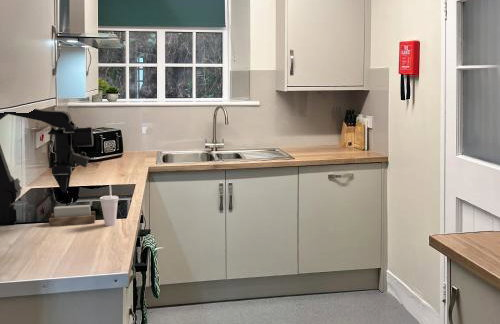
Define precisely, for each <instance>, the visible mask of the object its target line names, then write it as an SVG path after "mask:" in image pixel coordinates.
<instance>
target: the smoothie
mask: <svg viewBox="0 0 500 324" xmlns="http://www.w3.org/2000/svg"><path fill="white" fill-rule="evenodd" d="M108 187H109V195H103V196H101V197H99V201H100V205H101V209H102V210H101V211H102V216H103V221H104V226H106V227H111V226H112V227H113V226H116V225H117V215H118V201H119V200H120V199H119V196H118V195H112V184H109V186H108Z"/></svg>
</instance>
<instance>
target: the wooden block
mask: <svg viewBox="0 0 500 324" xmlns="http://www.w3.org/2000/svg"><path fill="white" fill-rule="evenodd" d="M90 212H91V215H90V216H74V217H59V218H55V217H54V213H51V214H50V217H49V219H48V223H49V224H48V225H49V227H57V226H73V225H87V224H88V225H89V224H95V223H96V211H95V210H93V211H91V210H90Z"/></svg>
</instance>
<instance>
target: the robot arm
mask: <svg viewBox="0 0 500 324" xmlns="http://www.w3.org/2000/svg"><path fill="white" fill-rule="evenodd" d="M8 115H11V116H15V117H20V118H24V119H25V118H26V119H29V120H35V121H38V122H43V123H46V124H47V125H50V126H53V127H51V129H50V130H49V131H48V132H47V134H48V135H54V136H53V137H54V139H53V140H54V151H53V154H55V155H54V158H55V161H54V166H53V167H52V168H51V174H52V177H54V179H55V182H56V183H57V184H58V186H59V189H60V191H61V192H62V193H66V192H67V188H69V187H70V181H71V176H72V173H73V171H74V170H76V166H77V165H79V166H81V167H83V168H86V167H87V166H88V162H89V159H90V157H89V156H87V153H86V152H84V151H81V153H76V152H75V151H74V150H75V149H73V145H72V143H73V144H74V145H75V146H76V147H93V146H94V135H93V133H94V132H93V127H92V126H87V127H78V126H77V125H76V124H75V123H74V122H73V120H72V115H71V114H70V113H69V112H68V111H65V110H44V109H41V108H35V109H34V110H33V111H31V112H29V113H16V112H4V113H0V120H2V119H3V118H5V117H7V116H8ZM56 128H58V129H56ZM7 163H8V162H7V160H6V157H5V154H4V151H3V148H2V145H1V144H0V226H6V225H7V226H10V225H15V224H16V223H17V221H18V220H19V215H18V213H19V212H18V208H16V204H15V203H16V201H17V199H18V198H19V197H20V196H21V194H22V193H21V191H22V189H23V188H22V186H21V184H20V180H19V179H20V178H14V177H13V176H12V175H11V172H10V169H9V166H8V164H7Z"/></svg>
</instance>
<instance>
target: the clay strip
mask: <svg viewBox="0 0 500 324" xmlns="http://www.w3.org/2000/svg"><path fill="white" fill-rule="evenodd" d="M90 211H91V204H80V205H79V204H78V205H61V206H60V205H59V206H54V208H53V214H54V217H55V218H59V217H74V216H90V215H91V212H90Z"/></svg>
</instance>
